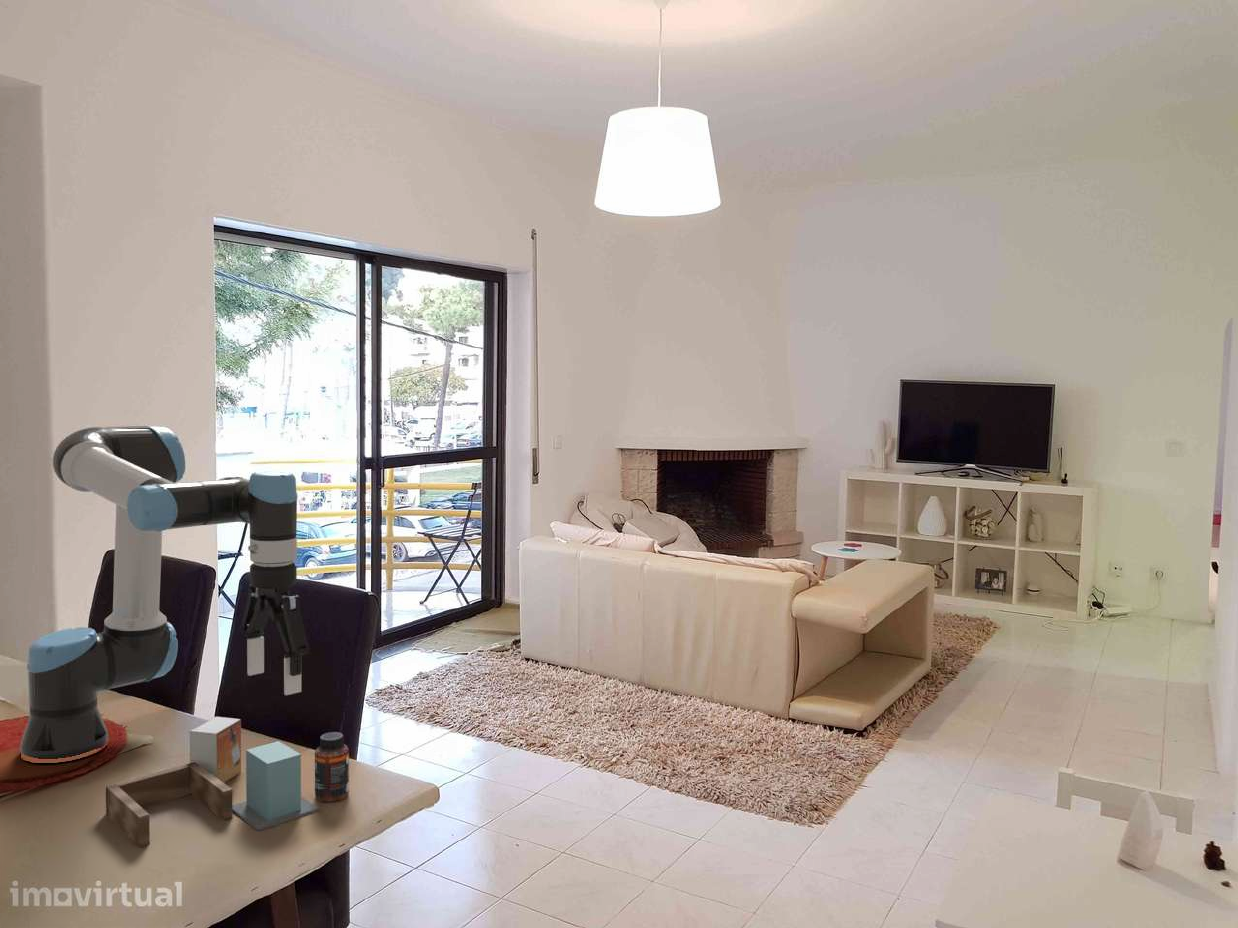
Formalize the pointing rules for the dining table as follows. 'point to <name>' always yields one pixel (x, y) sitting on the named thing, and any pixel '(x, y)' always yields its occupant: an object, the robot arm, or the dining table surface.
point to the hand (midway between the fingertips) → (273, 683)
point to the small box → (217, 747)
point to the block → (273, 780)
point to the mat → (262, 823)
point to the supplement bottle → (331, 768)
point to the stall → (163, 797)
